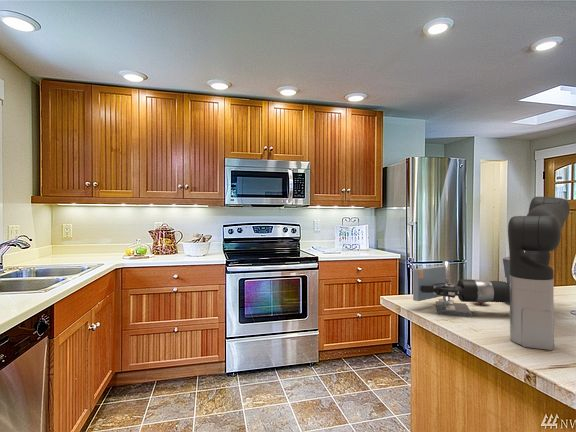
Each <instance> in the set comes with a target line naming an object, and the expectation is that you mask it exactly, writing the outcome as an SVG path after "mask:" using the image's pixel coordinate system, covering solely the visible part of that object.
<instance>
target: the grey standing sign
mask: <svg viewBox="0 0 576 432" xmlns="http://www.w3.org/2000/svg"><path fill="white" fill-rule="evenodd" d="M438 283H445V284H446V274H445V266H443V265H436V266H434V265H433V266H426V267H420V268H419V267H418V268H413V269H412V298H413V299H412V300H413V301H416V302H422V301H426V300H431V299H436V298H439V297H442V296H440V295H436V294H433V293H422V292H421V286H422V285H424V286H432V285H433V284H438Z"/></svg>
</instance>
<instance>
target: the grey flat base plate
mask: <svg viewBox="0 0 576 432" xmlns="http://www.w3.org/2000/svg"><path fill="white" fill-rule="evenodd" d="M435 307H436V310H437V311H436V312H437V314H438V315H444V316H452V317H453V316H455V317H467V318H472V311H471V310H470V308H469V306H468V305H467V303H465V302H464V303H463V302H454V303H452V301H444V302H440V301H439V300H438V301H437V300H435Z"/></svg>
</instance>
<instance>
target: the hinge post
mask: <svg viewBox="0 0 576 432" xmlns="http://www.w3.org/2000/svg"><path fill="white" fill-rule="evenodd" d="M450 262H451V261H446V260H445V261H443V260H442V266H445V274H446V284H447V283H451V281H450V279H451V278H450V277H451V276H450V275H451V272H450V269H451V267H450V265H451V263H450ZM438 301H440V302H444V301H452V303H455V301H454V300H453V299H451V297H446V296H442V298H438Z"/></svg>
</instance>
